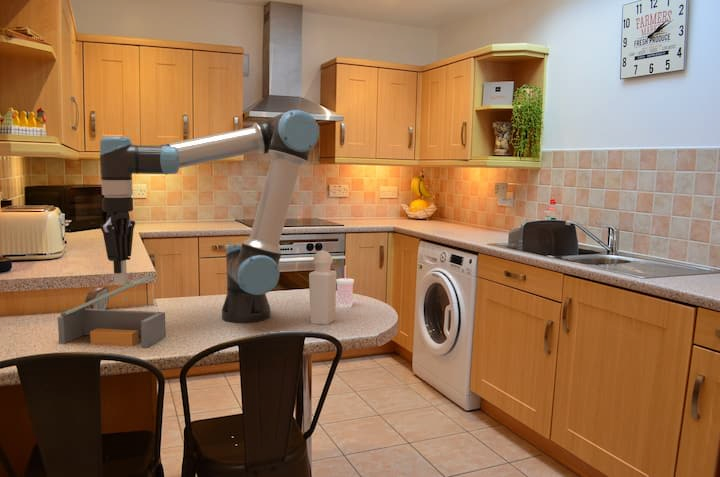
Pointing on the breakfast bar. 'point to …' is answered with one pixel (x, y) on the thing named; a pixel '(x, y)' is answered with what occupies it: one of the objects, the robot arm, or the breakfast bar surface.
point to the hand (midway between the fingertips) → (120, 284)
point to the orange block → (114, 337)
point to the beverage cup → (345, 290)
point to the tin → (97, 293)
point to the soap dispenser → (322, 289)
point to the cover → (103, 297)
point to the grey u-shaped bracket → (113, 324)
